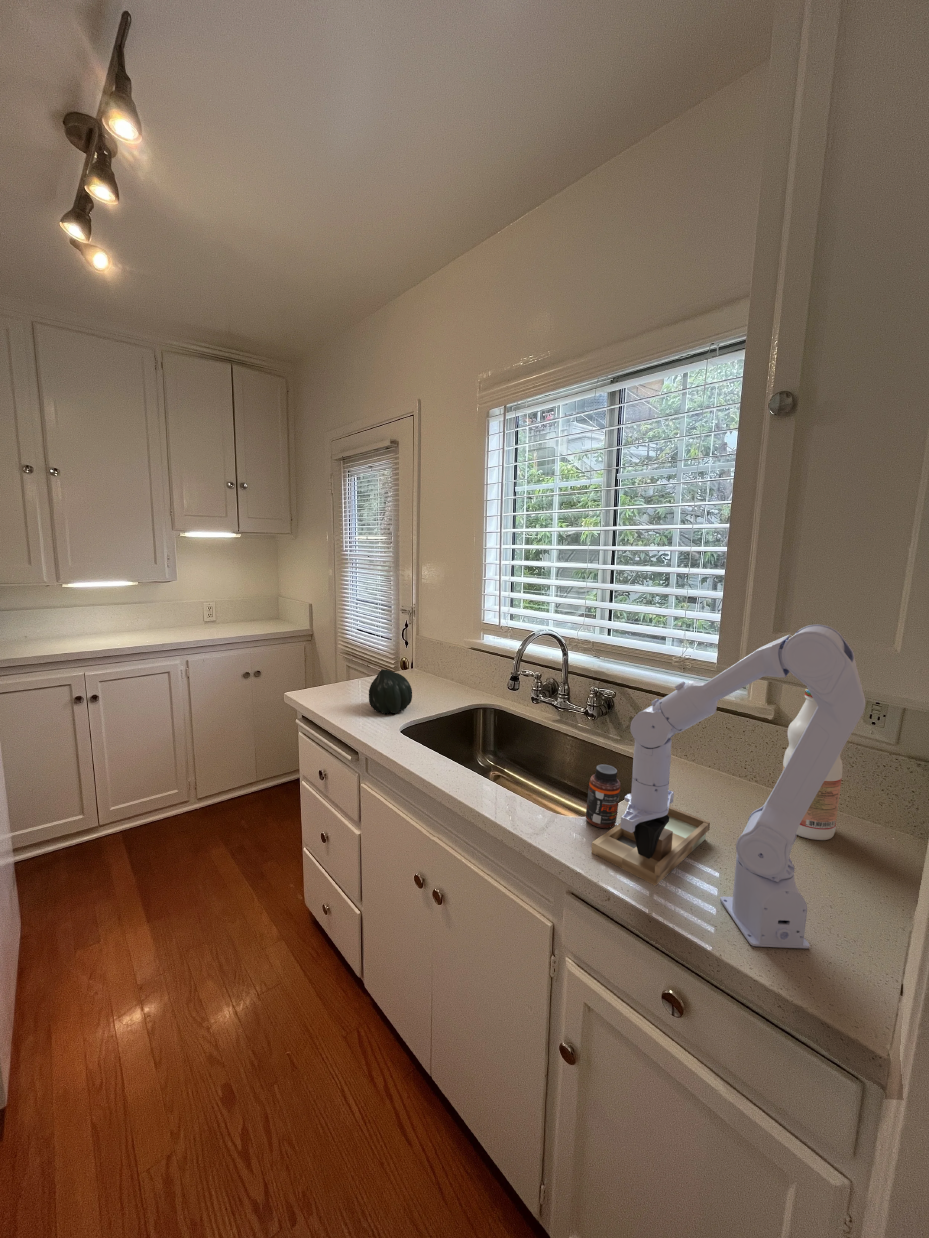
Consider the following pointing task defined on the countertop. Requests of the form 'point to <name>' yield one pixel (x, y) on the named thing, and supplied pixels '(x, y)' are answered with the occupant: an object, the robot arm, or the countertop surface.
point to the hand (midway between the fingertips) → (645, 854)
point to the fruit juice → (825, 804)
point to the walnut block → (663, 845)
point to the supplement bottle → (603, 797)
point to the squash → (390, 692)
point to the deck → (624, 854)
